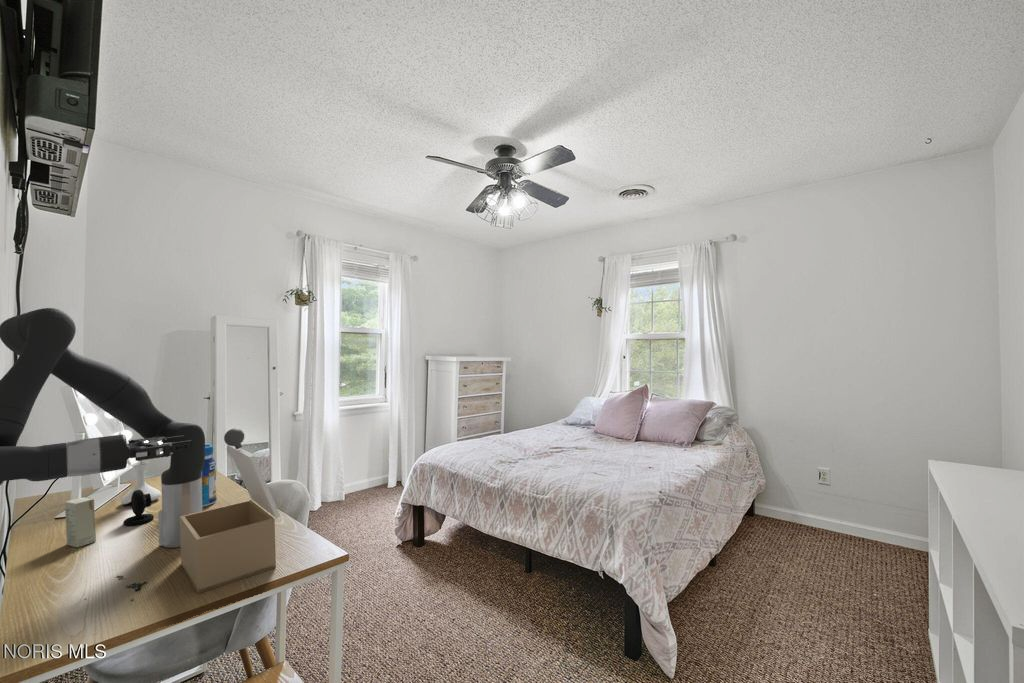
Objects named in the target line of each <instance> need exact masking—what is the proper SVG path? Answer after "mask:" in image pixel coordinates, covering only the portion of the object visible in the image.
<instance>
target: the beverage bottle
mask: <svg viewBox="0 0 1024 683" xmlns="http://www.w3.org/2000/svg"><path fill="white" fill-rule="evenodd" d="M213 454H214V446H213V445H212V444H205V463H204V467H203V469H202V473H201V475H202V476H201V477H202V508H203V507H208V506H211V505H213V504H215V503H216V502H217V500H218V498H217V469H216V465H217V463H216V461H215V459H214V458H213V457H212V456H213Z"/></svg>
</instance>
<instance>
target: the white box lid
mask: <svg viewBox="0 0 1024 683" xmlns="http://www.w3.org/2000/svg"><path fill="white" fill-rule="evenodd" d="M223 440H224V443H225V444H226V446H227V448H228V449H229V452H230V455H231V457H232V459H233V461H234V463H235V467H236V468H237V470H238V473H239V475H240V478H241V479H242V481H243V483H244V485H245V488H246V491H247V493H248V495H249V497H250V500H251V501H253V502H254V503H255V504H256V505H258V506H259V507H260V508H262V509H263V510H264V511H265V512H267V513H268V514H269V515H270V516H272V517H273V518H274V519H278V518H280V517H281V514H280V512H279V510H278V509H279V508H278V507H277V505H276V502H275V500H274V498H273V496H272V493H271V491H270V488H269V486H268V485H267V484H268V483H267V482H266V479H265V477H264V475H263V472H262V470H261V468H260V465H259V463H258V460H257V459H256V458H257V457H256V456H255V455H254V454H252V453H251V452H249V451H247V450H246V449H243V448H242V447H243V446H242V443H243V441H244V440H245V433H244V431H243V430H242V429H241V428H236V427H234V428H230V429H229V430H227V431H226V432H225V434H224V437H223Z"/></svg>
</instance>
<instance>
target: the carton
mask: <svg viewBox="0 0 1024 683" xmlns="http://www.w3.org/2000/svg"><path fill="white" fill-rule="evenodd" d="M275 520H276V518H275V517H274V516H273V515H271V514H270V513H269V512H267V511H266V510H265V509H264V508H262V507H261V506H260V505H258V504H257V503H256V502H255V501H253V500H252V499H249V500H244V501H239V502H236V503H232V504H227V505H223V506H219V507H213V508H210V509H206V510H202V511H201V512H197V513H192V514H188V515H184V516H180V540H181V547H180V564H181V566H182V568H183V570H184V571H185V573H186V575H187V577H188V578H189V580H190V582H191V584H192V586H193V588H194V589H195V591H196V593H197V594H201V593H205V592H208V591H210V590H214V589H217V588H219V587H220V588H221V587H222V586H223V587H224V586H226V585H230V584H232V583H235V582H238V581H240V580H244V579H246V578H249V577H252V576H255V575H258V574H261V573H263V572H266V571H269V570H273V569H275V568H276V566H277V564H276V563H277V560H276V558H277V557H276V524H275V523H276V522H275Z"/></svg>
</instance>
